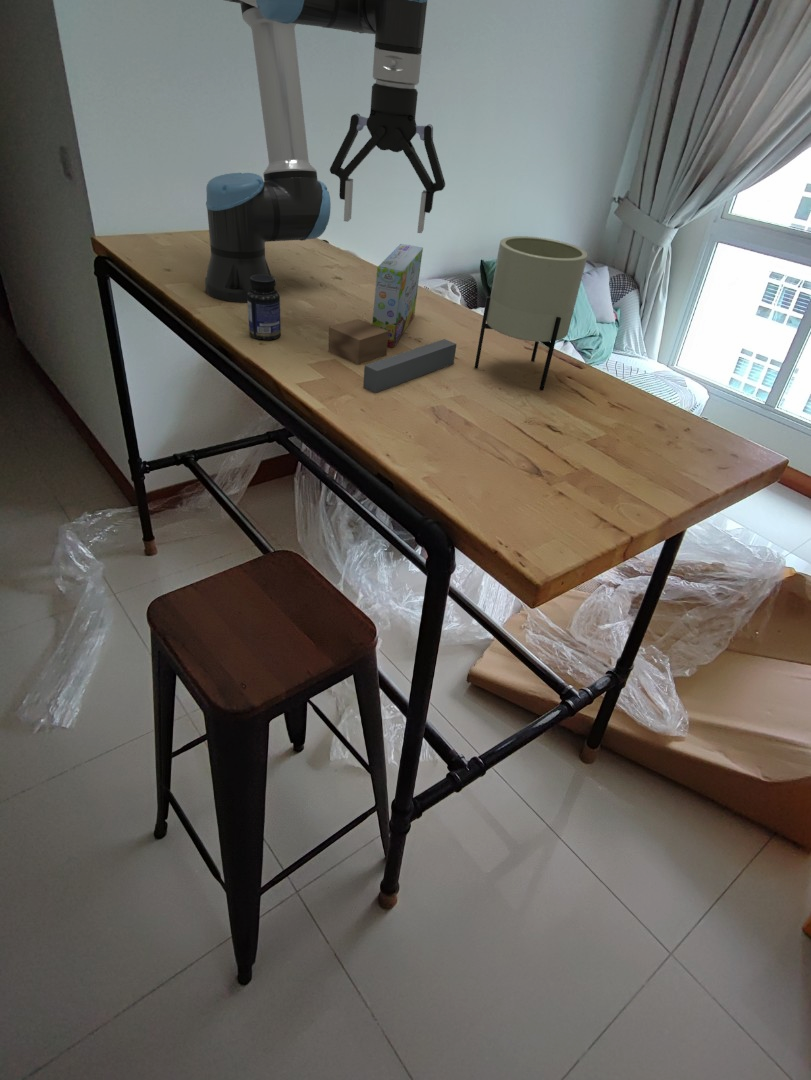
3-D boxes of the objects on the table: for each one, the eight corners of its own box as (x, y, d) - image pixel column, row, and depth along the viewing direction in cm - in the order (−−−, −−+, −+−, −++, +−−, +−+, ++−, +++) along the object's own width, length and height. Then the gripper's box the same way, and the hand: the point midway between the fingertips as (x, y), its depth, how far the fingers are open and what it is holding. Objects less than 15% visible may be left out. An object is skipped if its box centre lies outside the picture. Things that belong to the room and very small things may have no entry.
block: (328, 352, 125) (329, 326, 122) (357, 343, 130) (358, 318, 127) (357, 366, 121) (359, 340, 118) (386, 356, 126) (388, 331, 123)
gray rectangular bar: (363, 386, 113) (364, 365, 111) (441, 358, 127) (444, 338, 125) (375, 392, 112) (377, 371, 109) (453, 363, 126) (456, 343, 123)
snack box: (396, 349, 129) (403, 270, 120) (369, 344, 130) (374, 266, 120) (416, 316, 146) (424, 245, 137) (392, 312, 146) (398, 241, 137)
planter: (508, 395, 116) (537, 262, 103) (463, 361, 127) (483, 236, 113) (573, 386, 123) (609, 259, 109) (525, 354, 134) (551, 235, 120)
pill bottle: (286, 334, 129) (285, 277, 122) (269, 343, 125) (267, 285, 118) (261, 327, 131) (258, 271, 124) (242, 336, 126) (239, 277, 120)
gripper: (314, 74, 102) (311, 219, 115) (469, 97, 101) (448, 241, 114) (326, 72, 108) (322, 210, 121) (472, 94, 107) (453, 231, 120)
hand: (383, 225), depth 118 cm, fingers open, 13 cm apart
